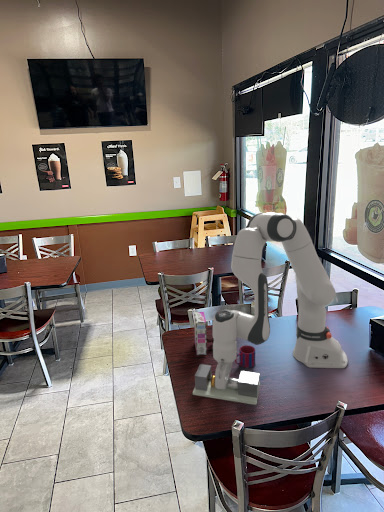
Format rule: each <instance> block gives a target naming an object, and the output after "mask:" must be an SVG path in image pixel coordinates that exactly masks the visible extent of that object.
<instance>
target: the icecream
mask: <svg viewBox="0 0 384 512" xmlns="http://www.w3.org/2000/svg"><path fill="white" fill-rule="evenodd" d="M213 342H214V338H213V337H210V336H209V337H207V343H208V344H210V345H209V346H208V347H207V350H208V351H213ZM211 343H212V344H211Z"/></svg>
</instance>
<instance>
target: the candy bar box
mask: <svg viewBox="0 0 384 512" xmlns="http://www.w3.org/2000/svg"><path fill="white" fill-rule="evenodd" d="M193 316H194V322H193V323H194V345H195V352H196V356H205V355H206V356H207V355H208V351H207V350H208V347H207V346H208V345H207V343H208V342H207V338H208V337H207V335H208V333H207V332H208V331H207V320H206V315H205V311H198V312H197V311H193Z"/></svg>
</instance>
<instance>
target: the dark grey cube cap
mask: <svg viewBox="0 0 384 512" xmlns="http://www.w3.org/2000/svg"><path fill="white" fill-rule="evenodd" d="M238 379H239V381H238V395H242V396H248V397H255V398H257V396H258V397H259V393H258V391H259V392H260V387H259V382H260V373H259V372H252V371H245V370H240V374H239V377H238ZM257 399H258V398H257Z"/></svg>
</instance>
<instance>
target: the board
mask: <svg viewBox="0 0 384 512" xmlns="http://www.w3.org/2000/svg"><path fill="white" fill-rule="evenodd" d="M212 375H213V374H211V377H212ZM260 385H261V382H260V381H259V388H260V387H261V386H260ZM259 392H260V390H259V391H258V394H259ZM192 395H193V396H198V397H205V398H211V399H217V400H223V401H229V402H235V403H243V404H248V405H254V406H257V404H258V398H259V395H258V396H257V398H255V397H248V396H242V395H238V390H235V389H228V388H226V390H223V389H217V388H216V387H215V386H211V380H207V391H203V390H197V389H195V387H194V388H193V391H192Z"/></svg>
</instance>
